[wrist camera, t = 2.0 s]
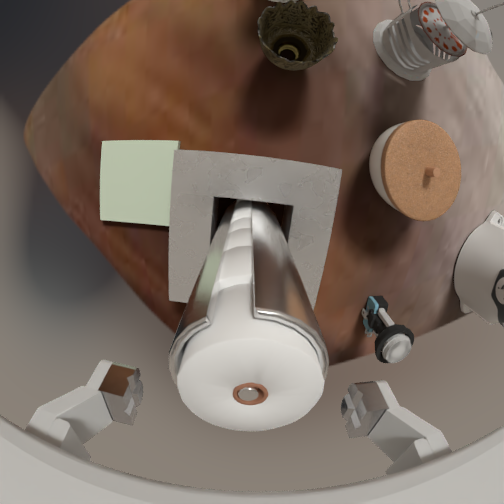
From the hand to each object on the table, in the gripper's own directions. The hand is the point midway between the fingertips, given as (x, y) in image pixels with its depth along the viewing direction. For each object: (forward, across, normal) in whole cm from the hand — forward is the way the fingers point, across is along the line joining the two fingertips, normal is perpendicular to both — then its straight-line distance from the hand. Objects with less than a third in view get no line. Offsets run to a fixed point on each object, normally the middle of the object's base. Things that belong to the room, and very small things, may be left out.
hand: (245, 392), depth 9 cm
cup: (+25, -2, -21) cm, 33 cm away
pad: (+25, +14, -4) cm, 29 cm away
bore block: (+25, 0, 0) cm, 25 cm away
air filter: (+25, 0, 0) cm, 25 cm away
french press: (+25, -17, -28) cm, 41 cm away
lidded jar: (+25, -17, -10) cm, 32 cm away
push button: (+25, -19, +11) cm, 33 cm away
